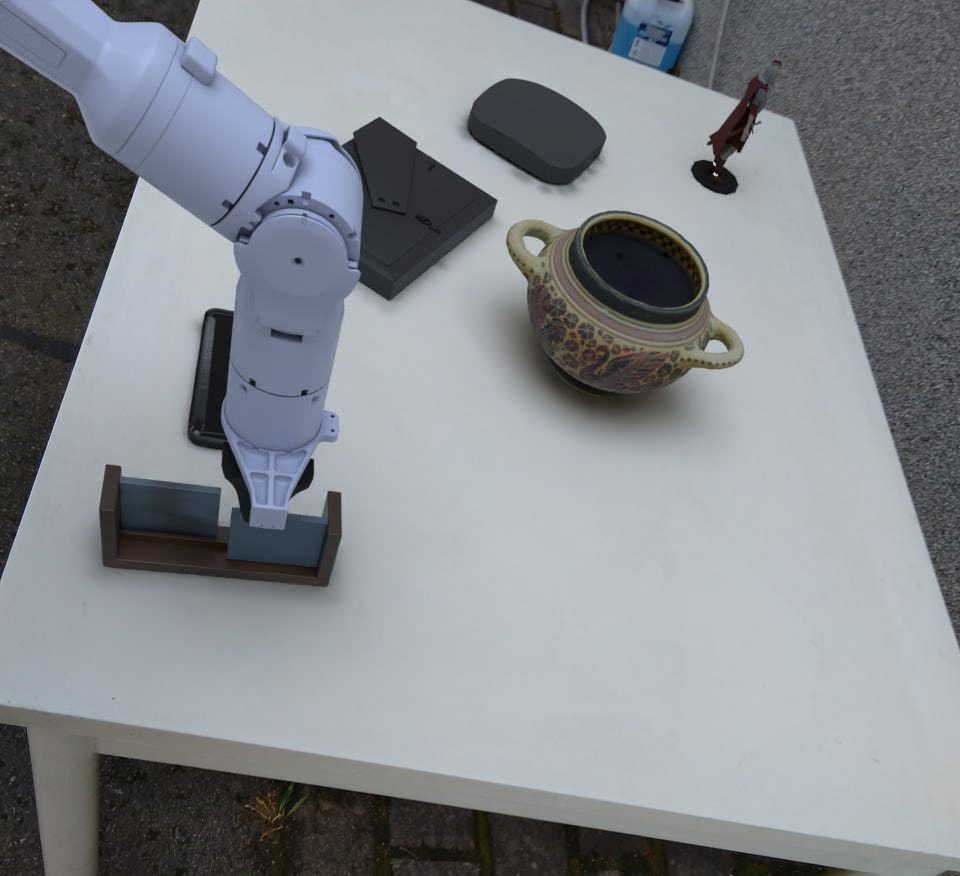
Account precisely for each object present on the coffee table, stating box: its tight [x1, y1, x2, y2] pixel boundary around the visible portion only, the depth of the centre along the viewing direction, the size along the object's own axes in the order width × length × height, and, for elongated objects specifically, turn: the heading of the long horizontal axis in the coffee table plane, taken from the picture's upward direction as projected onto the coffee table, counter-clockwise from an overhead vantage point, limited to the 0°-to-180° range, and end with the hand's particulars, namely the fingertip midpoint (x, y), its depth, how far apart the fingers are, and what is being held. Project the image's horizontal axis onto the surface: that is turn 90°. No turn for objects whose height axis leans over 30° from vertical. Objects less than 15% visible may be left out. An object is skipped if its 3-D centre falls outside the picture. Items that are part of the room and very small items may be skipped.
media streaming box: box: [467, 77, 607, 184], centre depth 111 cm, size 15×15×3 cm
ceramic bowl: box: [505, 209, 745, 398], centre depth 88 cm, size 24×18×15 cm
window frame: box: [98, 463, 343, 587], centre depth 67 cm, size 16×4×6 cm, turn 95°
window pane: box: [227, 506, 328, 567], centre depth 66 cm, size 7×1×8 cm, turn 95°
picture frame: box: [340, 116, 499, 301], centre depth 95 cm, size 16×3×21 cm
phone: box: [187, 307, 234, 450], centre depth 78 cm, size 8×1×15 cm
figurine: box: [690, 59, 783, 196], centre depth 114 cm, size 7×7×15 cm
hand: (259, 509), depth 64 cm, fingers closed on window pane
